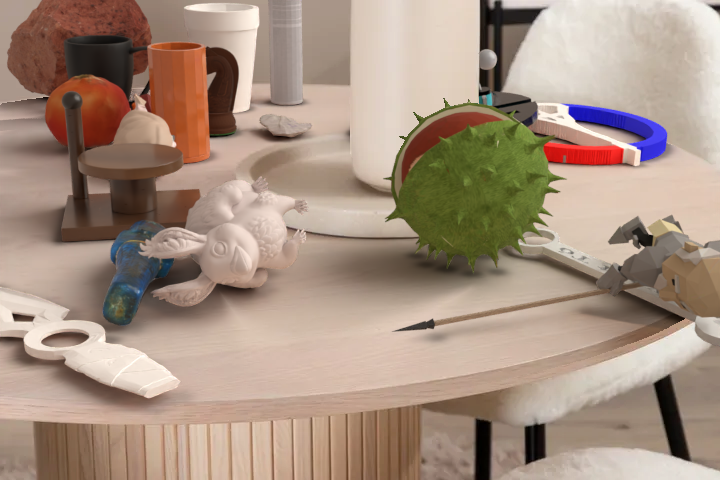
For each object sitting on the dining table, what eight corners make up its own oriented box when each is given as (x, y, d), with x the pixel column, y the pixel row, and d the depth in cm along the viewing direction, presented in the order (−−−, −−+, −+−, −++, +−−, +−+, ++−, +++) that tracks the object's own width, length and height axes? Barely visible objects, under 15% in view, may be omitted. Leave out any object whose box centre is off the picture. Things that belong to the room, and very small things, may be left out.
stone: (284, 142, 123) (285, 125, 122) (243, 129, 128) (244, 113, 127) (319, 139, 127) (320, 122, 126) (278, 126, 132) (279, 110, 131)
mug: (153, 125, 130) (148, 47, 127) (59, 121, 131) (52, 43, 128) (174, 111, 138) (170, 37, 134) (85, 107, 139) (79, 33, 136)
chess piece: (200, 126, 129) (196, 43, 126) (242, 126, 130) (239, 44, 126) (195, 135, 125) (191, 49, 122) (239, 135, 125) (236, 50, 122)
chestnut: (503, 66, 91) (531, 46, 76) (576, 215, 92) (617, 223, 78) (346, 146, 91) (343, 142, 76) (421, 294, 93) (433, 317, 78)
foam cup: (190, 117, 135) (185, 12, 130) (187, 102, 143) (181, 3, 139) (265, 114, 137) (262, 11, 133) (257, 99, 146) (254, 2, 141)
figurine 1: (149, 337, 73) (172, 268, 87) (164, 287, 72) (185, 226, 86) (81, 318, 72) (115, 251, 87) (94, 267, 71) (127, 208, 86)
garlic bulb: (187, 169, 112) (183, 94, 109) (164, 186, 106) (159, 106, 103) (127, 165, 113) (122, 90, 110) (101, 182, 107) (95, 103, 104)
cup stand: (69, 207, 99) (57, 89, 95) (200, 200, 102) (194, 86, 98) (62, 242, 90) (49, 113, 86) (206, 234, 92) (200, 108, 89)
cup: (153, 150, 119) (146, 42, 115) (208, 148, 120) (203, 41, 116) (154, 164, 113) (147, 51, 109) (211, 162, 115) (206, 50, 111)
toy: (395, 292, 86) (394, 364, 72) (387, 229, 84) (384, 290, 70) (753, 253, 85) (824, 318, 71) (752, 188, 83) (824, 241, 69)
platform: (335, 121, 135) (327, 70, 132) (495, 89, 140) (491, 40, 138) (387, 162, 115) (379, 104, 113) (570, 124, 121) (567, 67, 118)
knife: (120, 412, 61) (118, 399, 61) (-95, 293, 79) (-96, 283, 79) (204, 378, 65) (203, 366, 65) (-18, 273, 83) (-19, 263, 83)
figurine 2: (345, 268, 78) (203, 339, 71) (238, 261, 90) (106, 321, 83) (314, 164, 76) (164, 226, 69) (209, 170, 88) (70, 224, 80)
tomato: (51, 158, 114) (44, 84, 111) (44, 139, 122) (37, 69, 119) (139, 152, 117) (134, 79, 115) (127, 133, 125) (122, 65, 123)
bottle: (302, 98, 147) (300, -53, 140) (303, 105, 143) (301, -50, 136) (270, 98, 146) (266, -53, 139) (271, 105, 142) (267, -51, 135)
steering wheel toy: (583, 110, 142) (584, 97, 142) (713, 155, 122) (715, 141, 121) (441, 123, 133) (441, 110, 132) (555, 175, 112) (556, 160, 112)
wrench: (783, 325, 73) (737, 347, 71) (782, 333, 74) (736, 355, 71) (540, 222, 92) (496, 237, 90) (540, 229, 93) (496, 244, 90)
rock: (105, 108, 159) (25, 141, 148) (49, 21, 157) (-35, 48, 146) (178, 44, 145) (96, 75, 134) (118, -52, 143) (30, -29, 132)
